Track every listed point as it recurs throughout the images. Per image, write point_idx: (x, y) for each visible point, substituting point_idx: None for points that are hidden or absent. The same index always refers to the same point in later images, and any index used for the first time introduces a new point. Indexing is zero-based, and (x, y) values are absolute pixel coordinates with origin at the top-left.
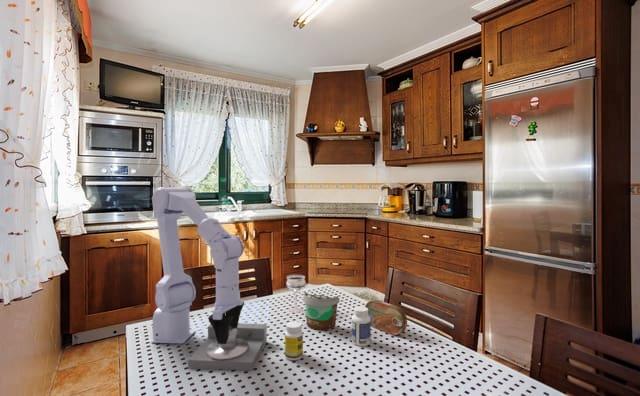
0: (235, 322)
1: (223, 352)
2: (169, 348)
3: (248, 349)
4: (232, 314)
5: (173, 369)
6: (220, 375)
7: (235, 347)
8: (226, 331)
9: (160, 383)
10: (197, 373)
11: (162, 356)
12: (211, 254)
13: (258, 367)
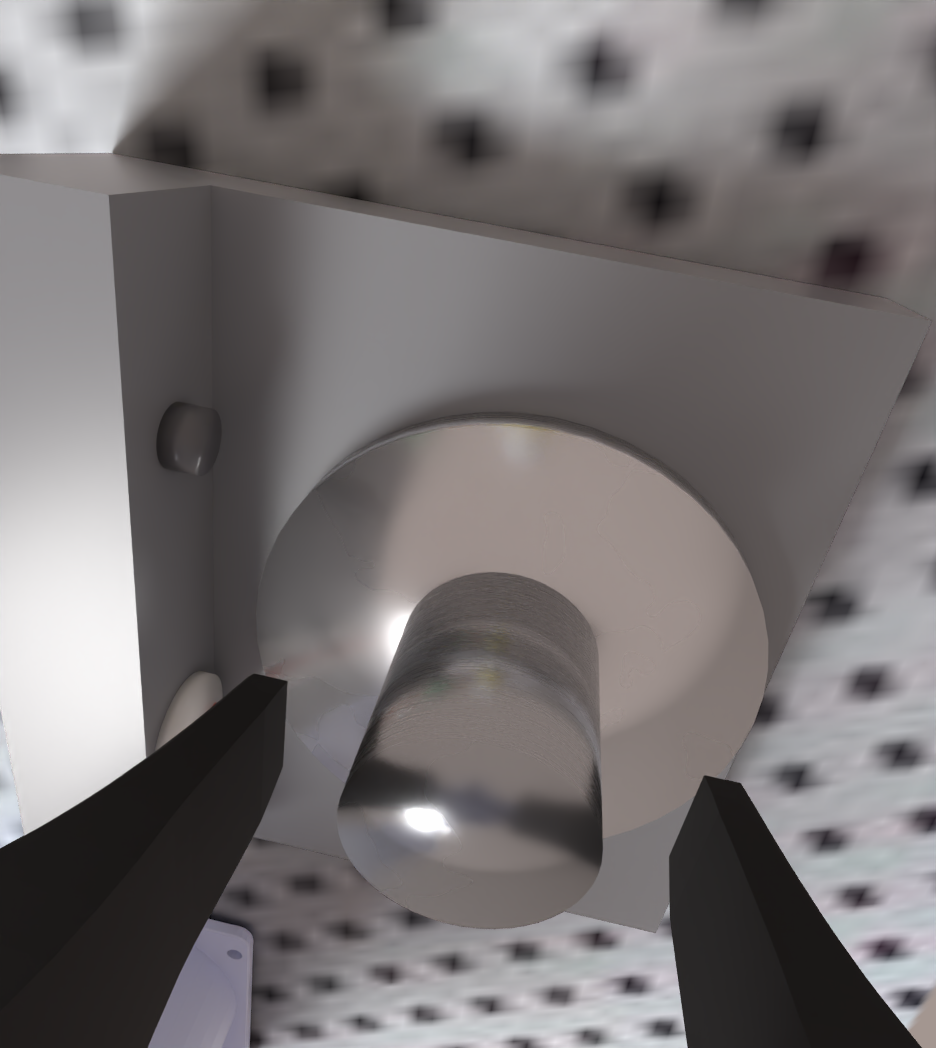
0: (225, 779)
1: (639, 701)
2: (321, 984)
3: (521, 406)
4: (141, 956)
5: (648, 941)
6: (869, 629)
7: (542, 587)
8: (865, 991)
9: None
10: (763, 801)
11: (439, 1006)
12: None
13: (827, 218)
